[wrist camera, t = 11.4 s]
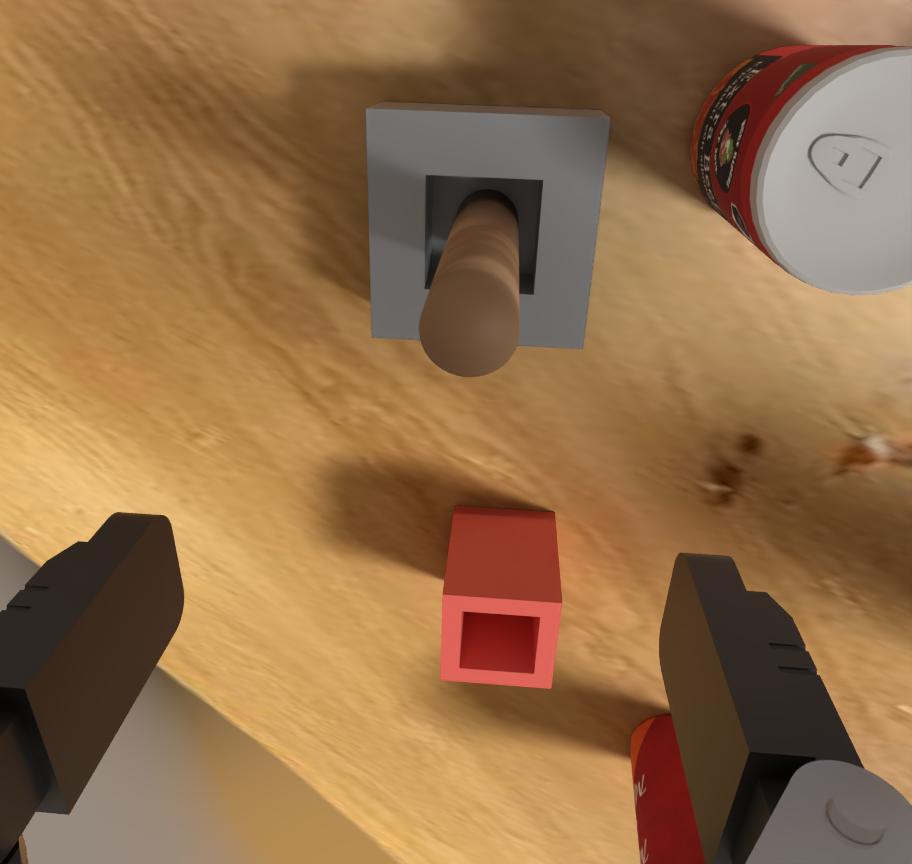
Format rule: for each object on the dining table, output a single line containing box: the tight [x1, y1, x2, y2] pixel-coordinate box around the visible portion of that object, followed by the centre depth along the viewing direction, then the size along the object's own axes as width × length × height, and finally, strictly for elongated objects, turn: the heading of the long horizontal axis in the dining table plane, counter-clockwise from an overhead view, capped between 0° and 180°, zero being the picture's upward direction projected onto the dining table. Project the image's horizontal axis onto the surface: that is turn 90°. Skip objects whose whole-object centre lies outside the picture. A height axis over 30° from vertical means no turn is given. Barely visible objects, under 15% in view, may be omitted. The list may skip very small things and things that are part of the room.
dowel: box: [419, 189, 520, 377], centre depth 28 cm, size 3×3×15 cm
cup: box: [440, 506, 562, 689], centre depth 41 cm, size 6×6×8 cm
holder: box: [366, 102, 611, 349], centre depth 34 cm, size 10×10×4 cm
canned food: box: [691, 45, 912, 295], centre depth 28 cm, size 8×8×11 cm
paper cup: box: [630, 714, 706, 864], centre depth 46 cm, size 8×8×14 cm
